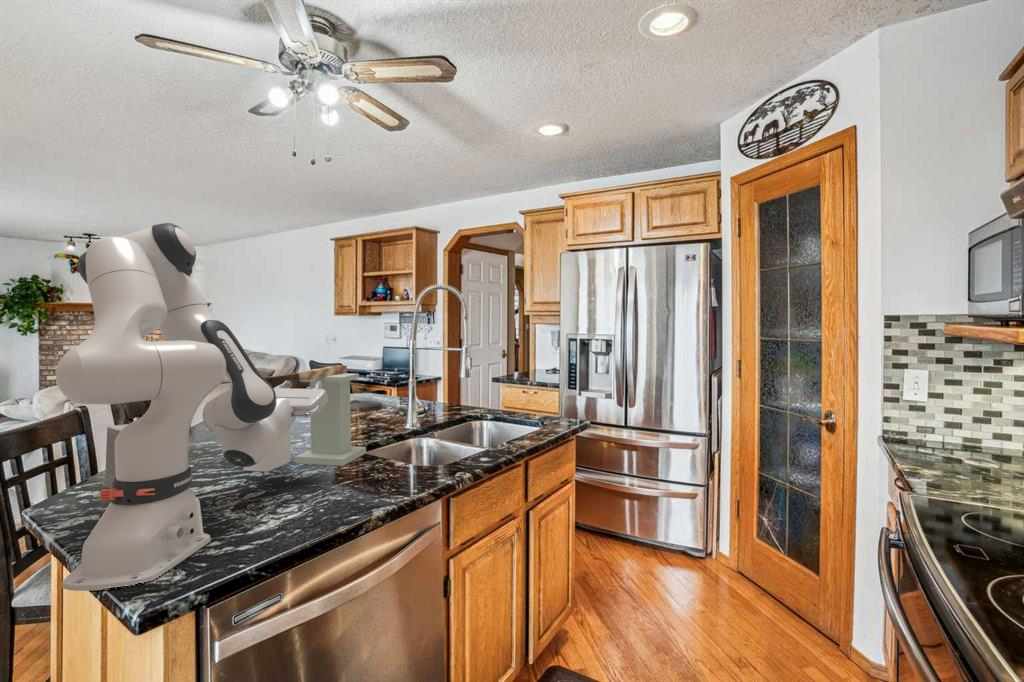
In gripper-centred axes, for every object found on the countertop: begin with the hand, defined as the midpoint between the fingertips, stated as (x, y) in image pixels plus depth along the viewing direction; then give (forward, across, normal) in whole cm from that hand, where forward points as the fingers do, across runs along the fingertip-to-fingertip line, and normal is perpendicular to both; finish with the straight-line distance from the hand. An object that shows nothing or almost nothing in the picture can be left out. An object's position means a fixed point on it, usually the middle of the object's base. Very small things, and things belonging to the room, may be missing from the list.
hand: (304, 382), depth 136 cm
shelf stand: (-1, 0, +28) cm, 29 cm away
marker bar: (+8, 0, +4) cm, 9 cm away
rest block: (-11, +14, +23) cm, 29 cm away
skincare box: (-30, +38, +12) cm, 50 cm away
